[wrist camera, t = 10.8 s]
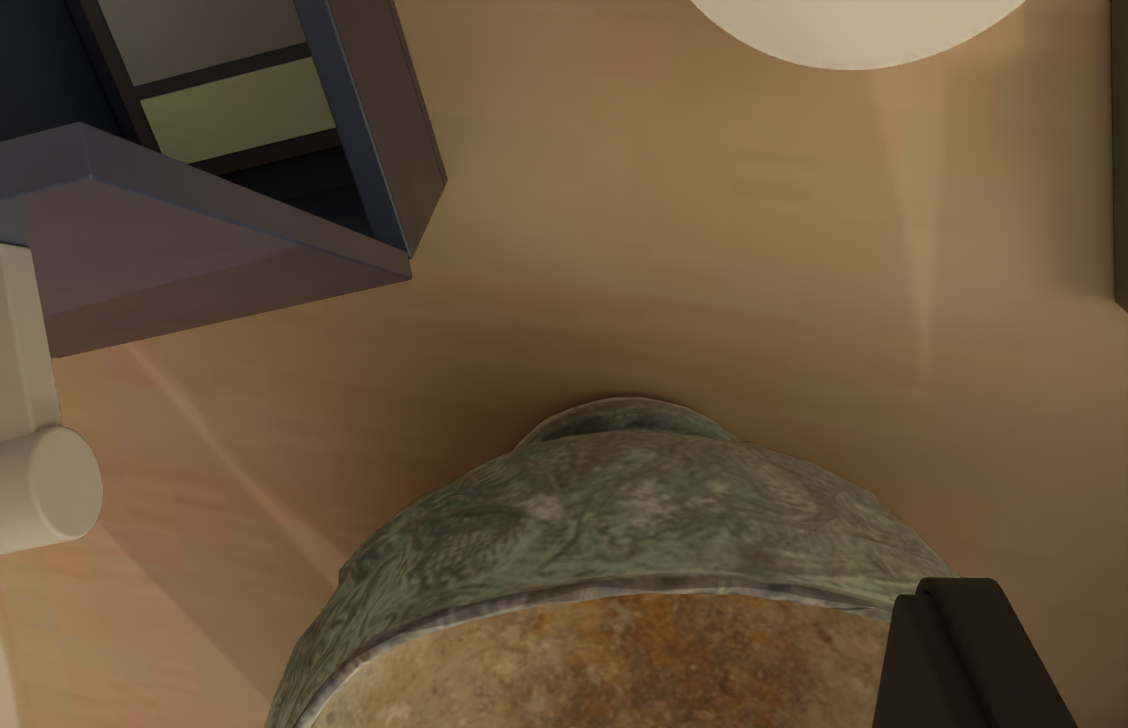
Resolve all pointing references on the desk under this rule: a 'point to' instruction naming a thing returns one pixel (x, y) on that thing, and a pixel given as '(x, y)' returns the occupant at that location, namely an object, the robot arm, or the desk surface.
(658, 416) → the bowl
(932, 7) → the cup
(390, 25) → the dark blue open box
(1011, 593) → the desk surface
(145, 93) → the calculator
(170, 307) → the cover
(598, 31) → the desk surface
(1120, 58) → the switch box
